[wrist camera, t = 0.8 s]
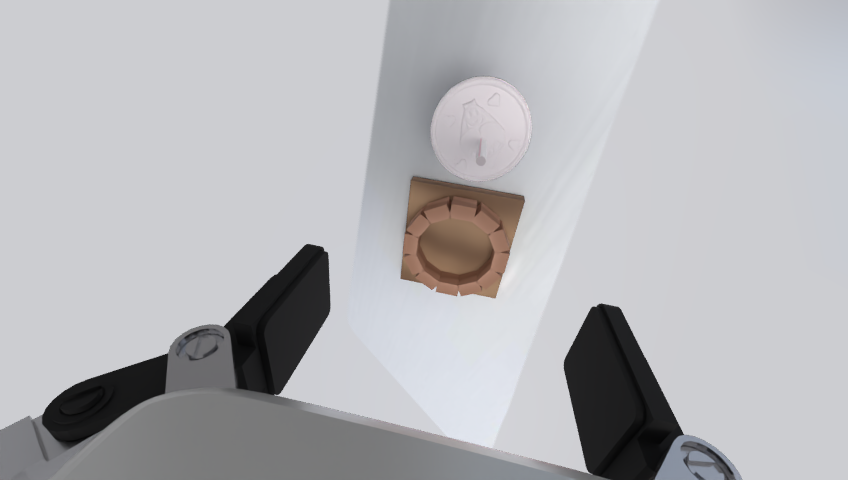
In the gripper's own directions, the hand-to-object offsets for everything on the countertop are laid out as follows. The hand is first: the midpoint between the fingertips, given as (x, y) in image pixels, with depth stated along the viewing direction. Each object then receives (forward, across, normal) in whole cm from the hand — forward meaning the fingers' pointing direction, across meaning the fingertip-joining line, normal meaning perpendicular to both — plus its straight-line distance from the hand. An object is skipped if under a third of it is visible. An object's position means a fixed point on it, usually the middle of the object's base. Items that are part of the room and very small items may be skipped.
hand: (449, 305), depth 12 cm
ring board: (+22, 0, +10) cm, 24 cm away
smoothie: (+22, 0, -3) cm, 23 cm away
